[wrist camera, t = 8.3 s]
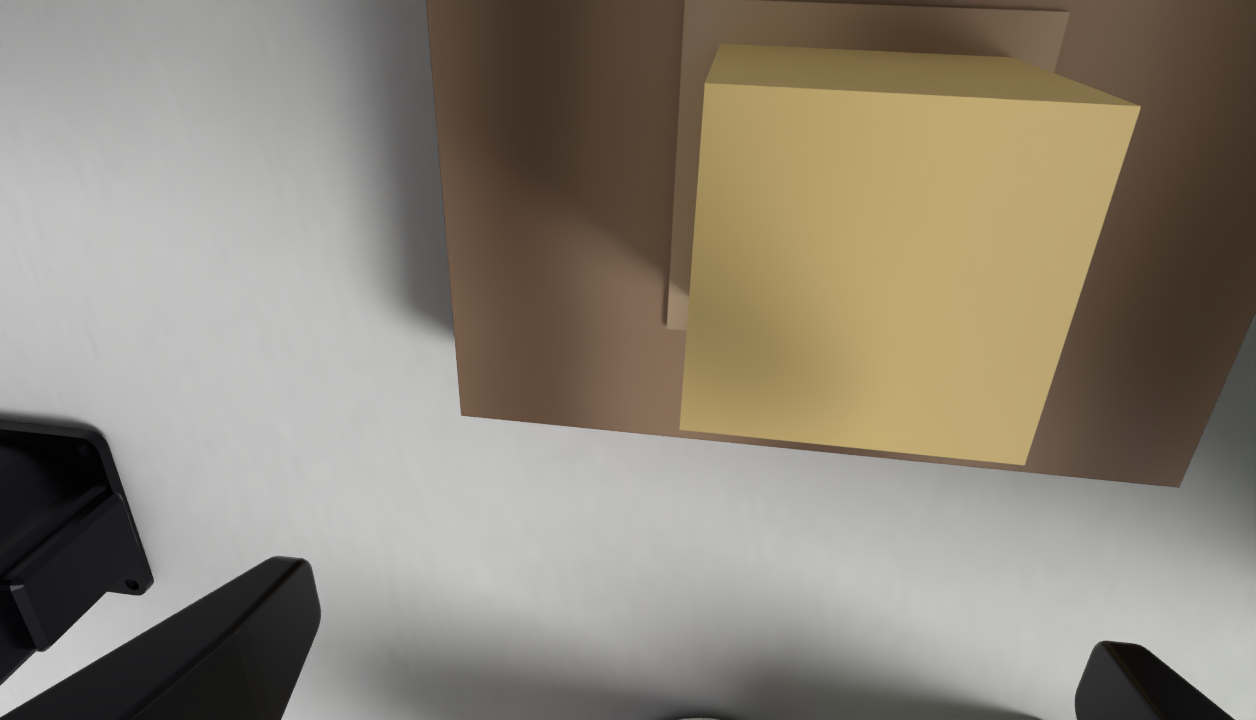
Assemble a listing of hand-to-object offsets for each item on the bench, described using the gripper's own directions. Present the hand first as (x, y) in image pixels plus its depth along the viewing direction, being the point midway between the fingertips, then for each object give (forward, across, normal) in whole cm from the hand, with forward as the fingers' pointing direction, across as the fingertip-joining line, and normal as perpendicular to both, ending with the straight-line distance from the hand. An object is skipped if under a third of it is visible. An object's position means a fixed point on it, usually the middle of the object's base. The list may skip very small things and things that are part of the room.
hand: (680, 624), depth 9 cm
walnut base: (+12, -2, -3) cm, 12 cm away
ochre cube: (+8, -2, -3) cm, 9 cm away
